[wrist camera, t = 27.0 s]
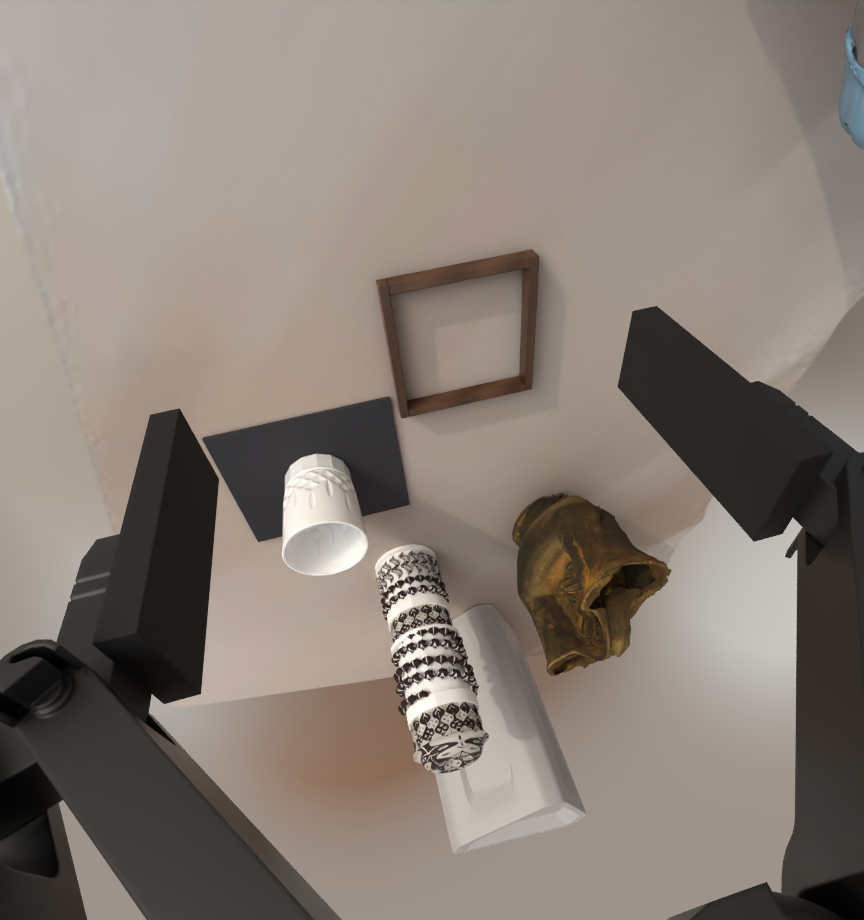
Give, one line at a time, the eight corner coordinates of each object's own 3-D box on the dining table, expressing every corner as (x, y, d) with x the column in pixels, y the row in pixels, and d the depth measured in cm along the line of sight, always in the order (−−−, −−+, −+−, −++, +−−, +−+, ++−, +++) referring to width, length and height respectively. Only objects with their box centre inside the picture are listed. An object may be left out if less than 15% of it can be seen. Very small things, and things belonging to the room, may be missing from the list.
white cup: (274, 500, 55) (276, 576, 48) (284, 445, 51) (288, 520, 44) (346, 503, 58) (358, 575, 51) (361, 451, 54) (377, 523, 47)
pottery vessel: (528, 454, 61) (609, 597, 47) (609, 446, 63) (709, 579, 49) (492, 578, 77) (544, 711, 63) (558, 568, 80) (622, 693, 66)
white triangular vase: (536, 599, 85) (620, 788, 65) (508, 646, 94) (574, 824, 74) (427, 609, 79) (483, 821, 59) (408, 658, 88) (451, 855, 68)
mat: (388, 396, 50) (389, 398, 50) (408, 502, 61) (409, 504, 61) (202, 437, 48) (202, 439, 48) (258, 540, 59) (258, 542, 59)
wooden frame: (532, 249, 44) (539, 256, 42) (526, 380, 53) (532, 389, 52) (375, 279, 42) (378, 288, 41) (398, 409, 52) (401, 418, 50)
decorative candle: (382, 592, 73) (422, 789, 55) (363, 556, 66) (401, 767, 48) (443, 571, 73) (503, 761, 55) (430, 533, 66) (492, 735, 49)
